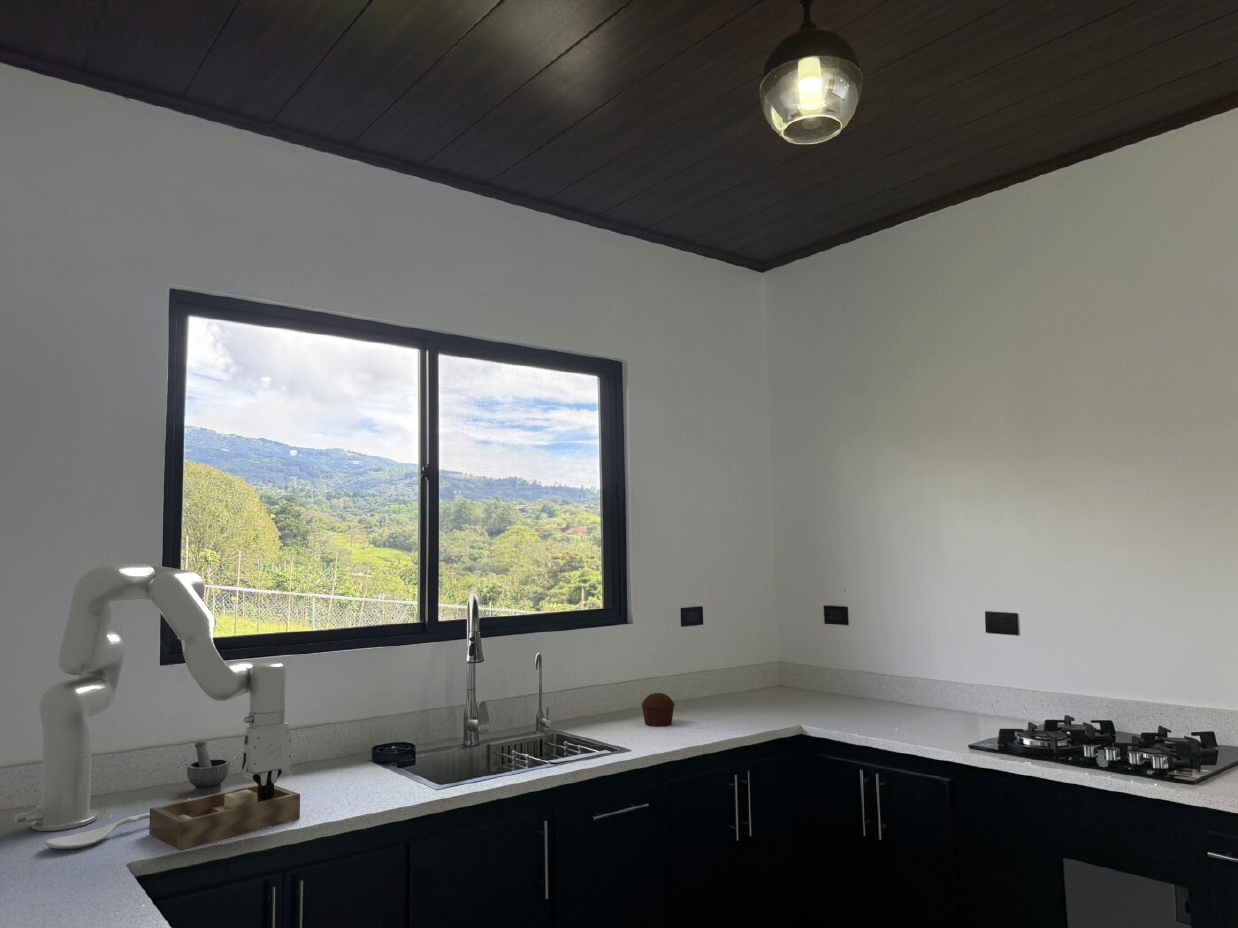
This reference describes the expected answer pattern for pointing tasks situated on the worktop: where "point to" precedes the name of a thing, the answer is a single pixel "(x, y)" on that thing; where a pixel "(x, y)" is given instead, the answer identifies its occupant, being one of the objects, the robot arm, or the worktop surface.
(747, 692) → the worktop surface
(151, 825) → the box
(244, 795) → the maple block
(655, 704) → the muffin
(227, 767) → the mortar and pestle
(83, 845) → the spoon
